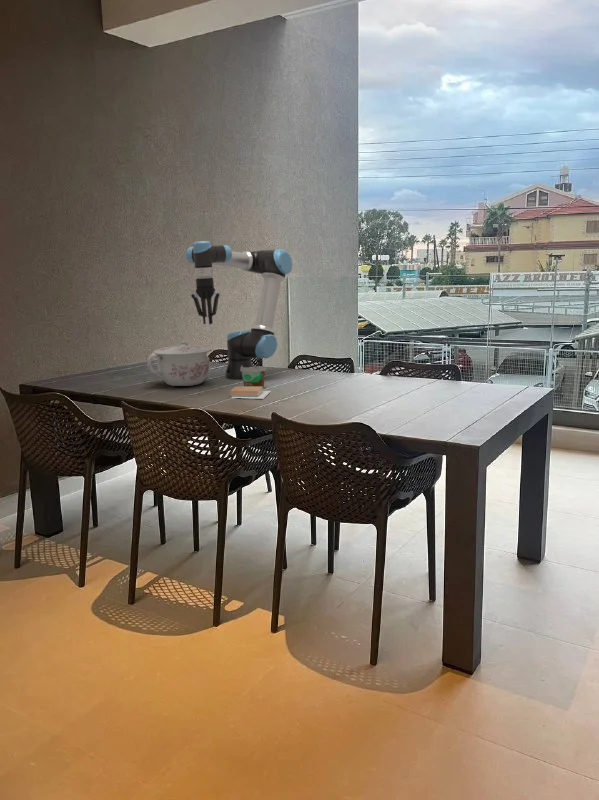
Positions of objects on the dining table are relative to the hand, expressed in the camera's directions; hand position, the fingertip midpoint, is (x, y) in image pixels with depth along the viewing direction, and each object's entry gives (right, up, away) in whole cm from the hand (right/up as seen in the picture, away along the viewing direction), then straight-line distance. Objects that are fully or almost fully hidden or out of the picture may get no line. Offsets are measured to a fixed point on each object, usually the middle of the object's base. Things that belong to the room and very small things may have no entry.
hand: (208, 331), depth 286 cm
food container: (+19, -25, +8) cm, 33 cm away
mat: (+20, -29, -9) cm, 36 cm away
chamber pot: (-15, -23, +22) cm, 35 cm away
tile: (+12, -27, -8) cm, 30 cm away
